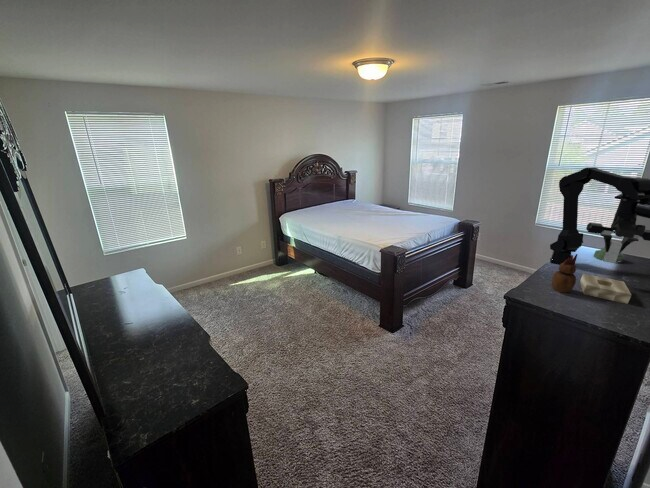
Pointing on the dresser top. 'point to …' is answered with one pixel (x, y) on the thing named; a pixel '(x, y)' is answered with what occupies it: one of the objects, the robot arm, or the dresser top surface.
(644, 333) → the dresser top surface
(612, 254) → the pin
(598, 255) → the decorative artifact
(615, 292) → the hole block
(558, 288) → the wooden figurine
